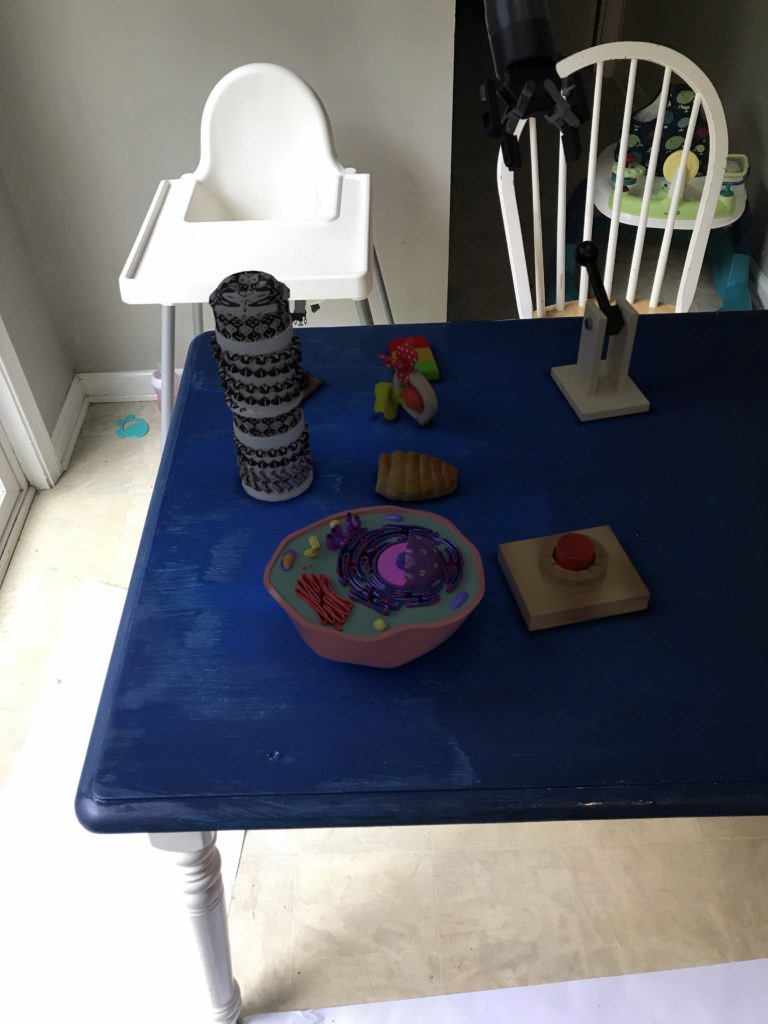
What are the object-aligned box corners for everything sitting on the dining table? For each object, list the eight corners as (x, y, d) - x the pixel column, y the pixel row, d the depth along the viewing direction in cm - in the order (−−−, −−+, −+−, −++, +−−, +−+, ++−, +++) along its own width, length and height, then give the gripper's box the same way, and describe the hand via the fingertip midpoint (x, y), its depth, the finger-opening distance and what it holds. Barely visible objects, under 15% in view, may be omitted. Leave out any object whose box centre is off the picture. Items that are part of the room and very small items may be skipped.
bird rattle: (440, 425, 108) (392, 379, 110) (469, 371, 99) (416, 321, 101) (407, 448, 105) (359, 399, 107) (434, 394, 96) (381, 342, 97)
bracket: (550, 375, 112) (560, 291, 104) (613, 365, 113) (627, 282, 105) (581, 421, 104) (594, 335, 96) (648, 411, 105) (667, 324, 97)
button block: (605, 539, 88) (611, 512, 86) (646, 609, 81) (654, 581, 78) (497, 559, 87) (499, 531, 84) (529, 631, 80) (532, 603, 77)
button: (583, 542, 83) (586, 530, 82) (598, 568, 80) (600, 555, 79) (549, 549, 83) (551, 536, 81) (562, 574, 80) (564, 561, 79)
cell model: (293, 559, 88) (280, 477, 80) (483, 569, 86) (488, 486, 78) (258, 691, 76) (238, 609, 68) (479, 707, 73) (484, 625, 66)
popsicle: (426, 345, 119) (425, 333, 118) (448, 405, 108) (448, 392, 107) (387, 349, 118) (387, 338, 117) (406, 410, 107) (406, 398, 106)
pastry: (457, 467, 98) (458, 441, 96) (457, 506, 93) (458, 480, 91) (378, 466, 99) (377, 441, 96) (374, 505, 94) (373, 479, 91)
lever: (568, 253, 107) (575, 236, 104) (591, 249, 107) (599, 233, 104) (596, 339, 102) (604, 324, 99) (621, 335, 103) (629, 321, 100)
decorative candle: (222, 490, 97) (179, 293, 80) (267, 446, 103) (235, 254, 86) (288, 513, 93) (258, 313, 76) (330, 466, 99) (311, 270, 82)
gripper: (483, 17, 96) (511, 161, 98) (585, 12, 100) (610, 149, 102) (455, 48, 103) (481, 182, 105) (551, 42, 107) (575, 170, 109)
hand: (545, 165), depth 103 cm, fingers open, 8 cm apart
